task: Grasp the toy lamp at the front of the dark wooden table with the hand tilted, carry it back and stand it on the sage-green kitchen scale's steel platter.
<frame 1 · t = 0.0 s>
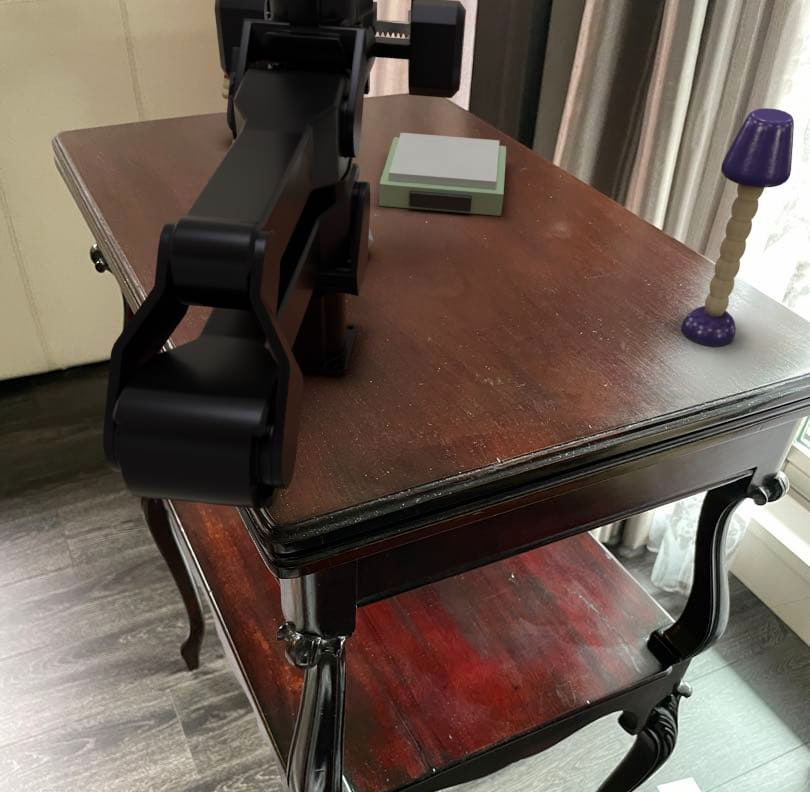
hand: (357, 12, 70), 17 cm above the table, tool horizontal, fingers open, 9 cm apart
toy lamp: (702, 333, 68), on the table
grandmother figurine: (252, 141, 93), on the table
scale: (444, 185, 86), on the table
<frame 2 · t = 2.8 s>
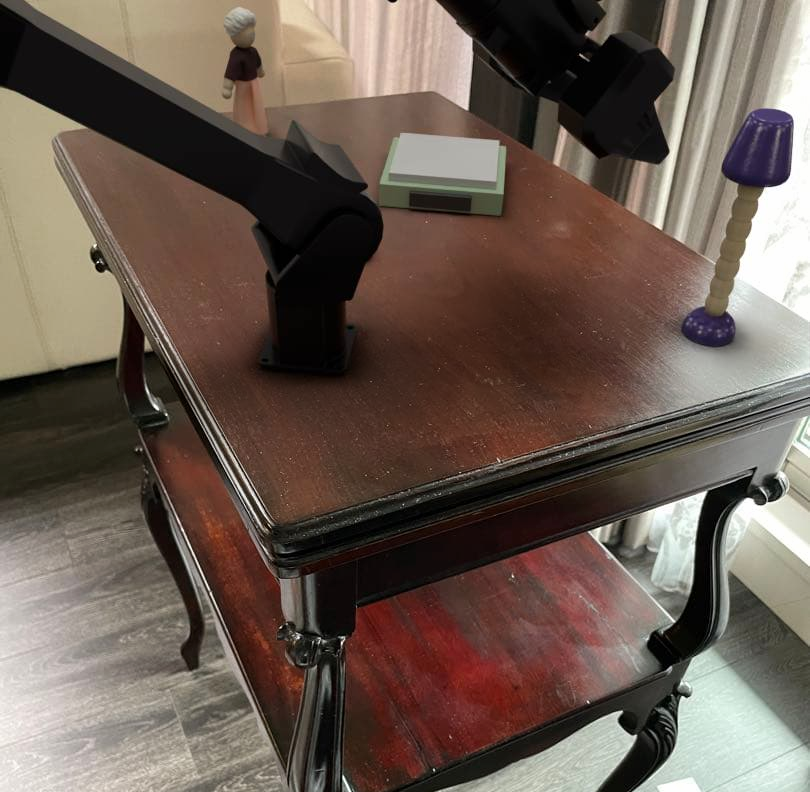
hand: (630, 132, 60), 14 cm above the table, tool tilted 50°, fingers open, 9 cm apart
nothing on the table moved.
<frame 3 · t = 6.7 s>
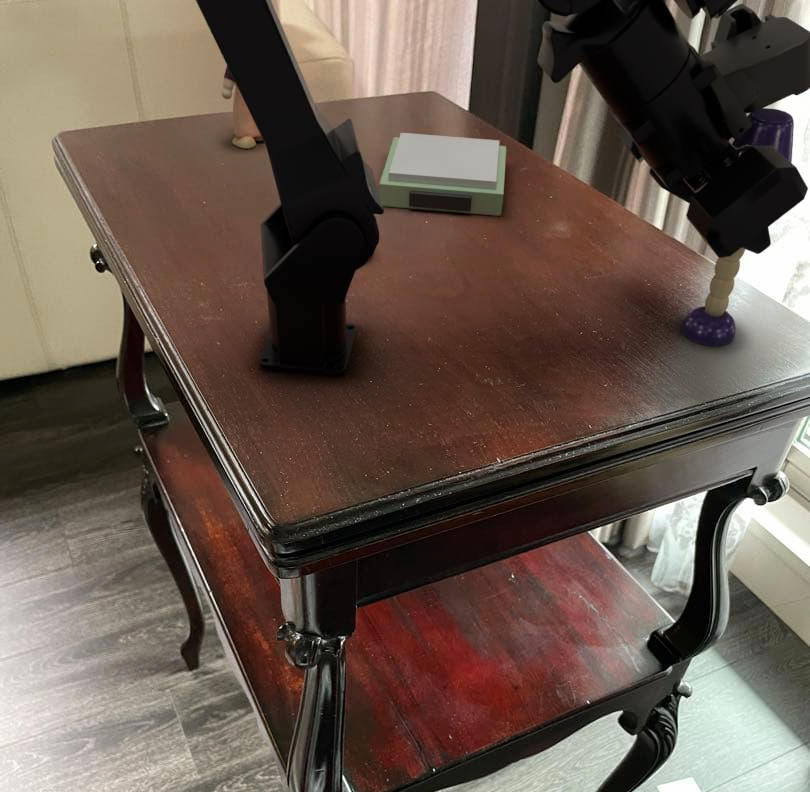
hand: (752, 236, 63), 8 cm above the table, tool tilted 45°, fingers closed on toy lamp, 4 cm apart
toy lamp: (702, 333, 68), on the table, touching gripper
everything else where it was.
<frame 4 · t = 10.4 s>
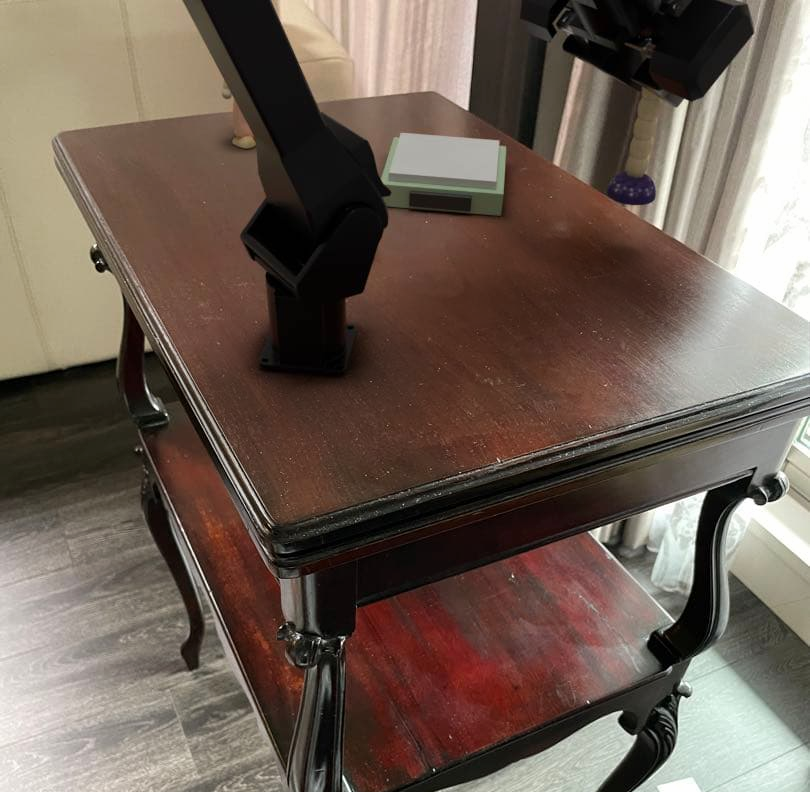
hand: (661, 94, 69), 13 cm above the table, tool tilted 45°, fingers closed on toy lamp, 4 cm apart
toy lamp: (626, 197, 74), point 5 cm above the table, touching gripper
everything else where it was.
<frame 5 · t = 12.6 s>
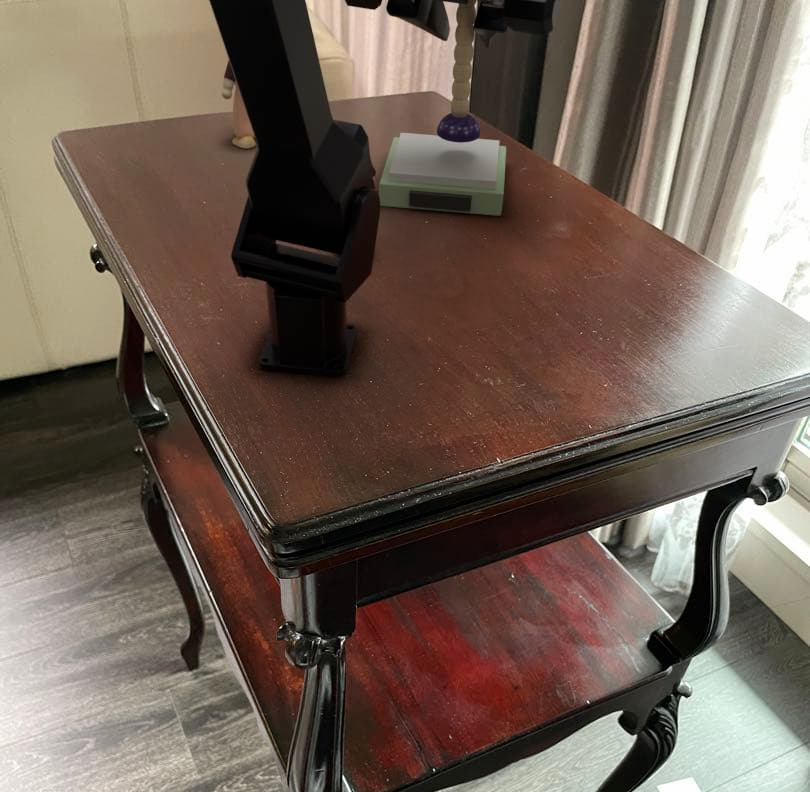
hand: (467, 39, 77), 13 cm above the table, tool tilted 45°, fingers closed on toy lamp, 4 cm apart
toy lamp: (455, 137, 82), point 5 cm above the table, touching gripper
everything else where it was.
when the fingers open (11 cm above the table, at t = 14.2 s): toy lamp stays where it is, resting on scale.
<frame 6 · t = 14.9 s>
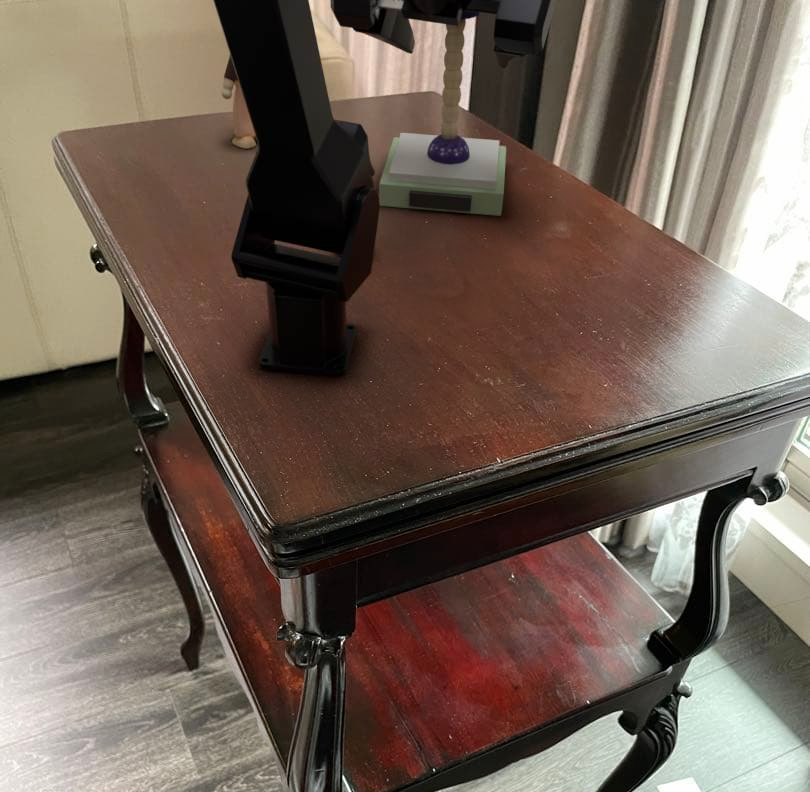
hand: (457, 55, 79), 12 cm above the table, tool tilted 45°, fingers open, 9 cm apart
toy lamp: (445, 158, 84), point 3 cm above the table, touching scale
everything else where it was.
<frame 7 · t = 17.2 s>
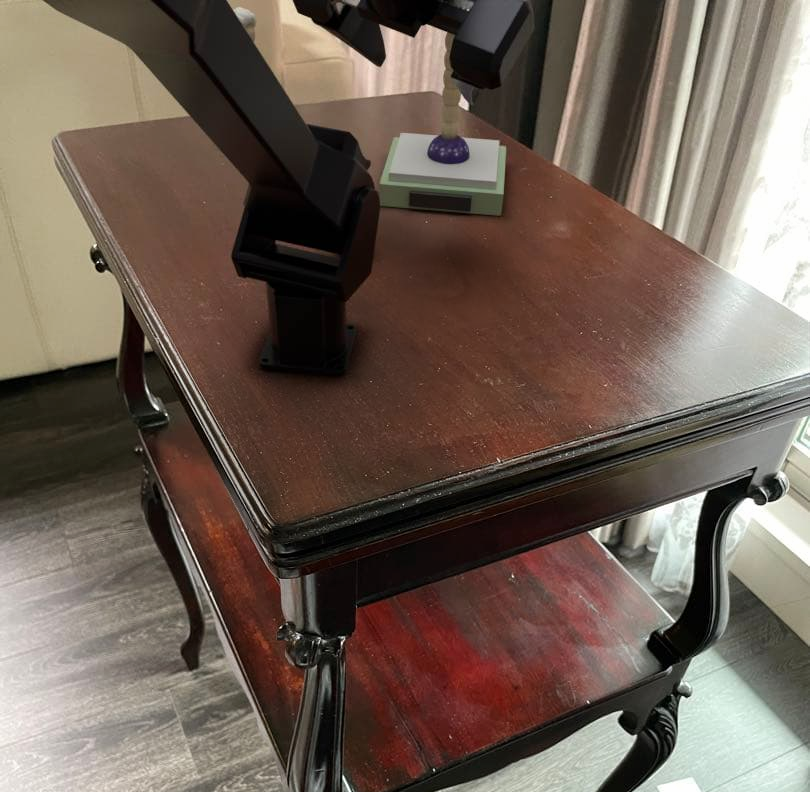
hand: (427, 80, 72), 12 cm above the table, tool tilted 40°, fingers open, 9 cm apart
nothing on the table moved.
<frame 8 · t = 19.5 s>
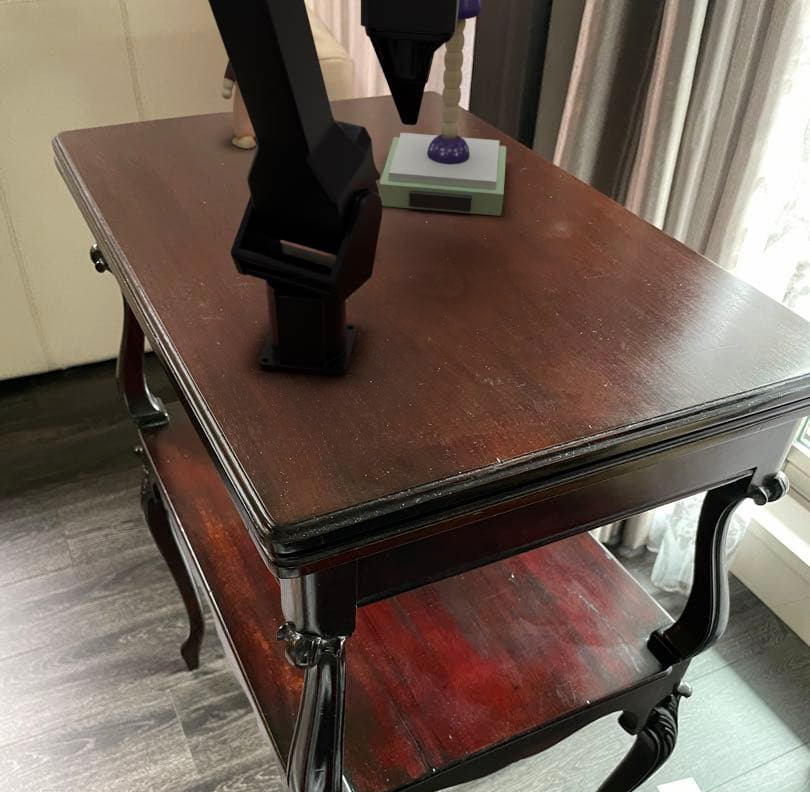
hand: (415, 102, 66), 13 cm above the table, tool pointing down, fingers open, 9 cm apart
nothing on the table moved.
at the end: toy lamp inside the target area on the scale (0.2 cm from its centre), point 2.8 cm above the scale's base; toy lamp tilted 0°; the gripper is holding nothing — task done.
